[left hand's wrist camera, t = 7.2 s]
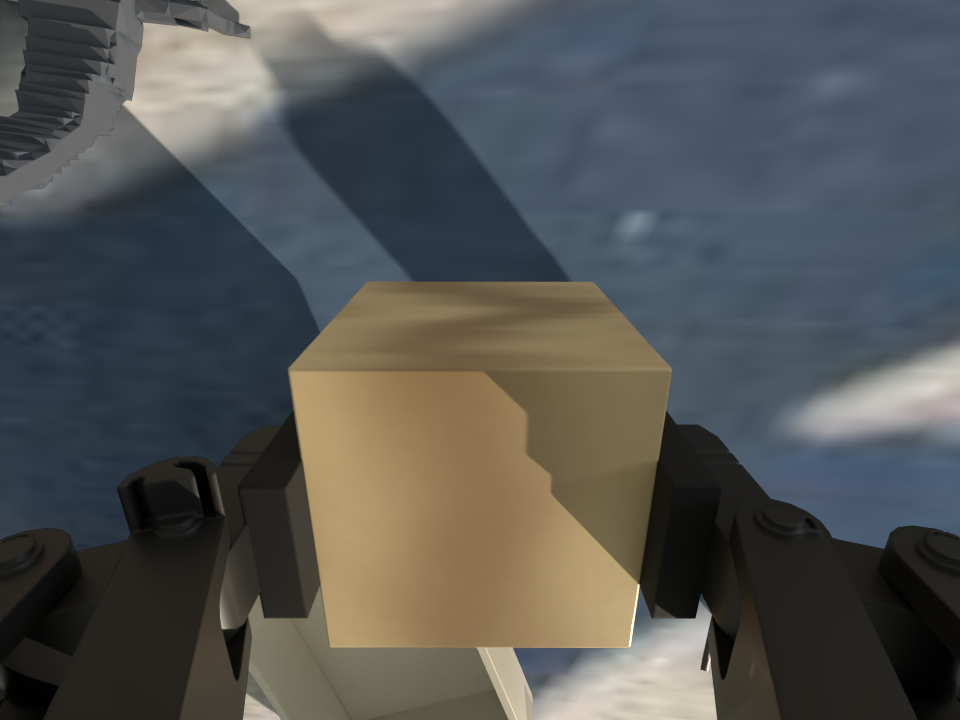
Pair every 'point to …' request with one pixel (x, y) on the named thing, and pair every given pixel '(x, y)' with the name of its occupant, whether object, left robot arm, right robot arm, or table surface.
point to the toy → (80, 78)
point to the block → (479, 464)
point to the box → (380, 676)
